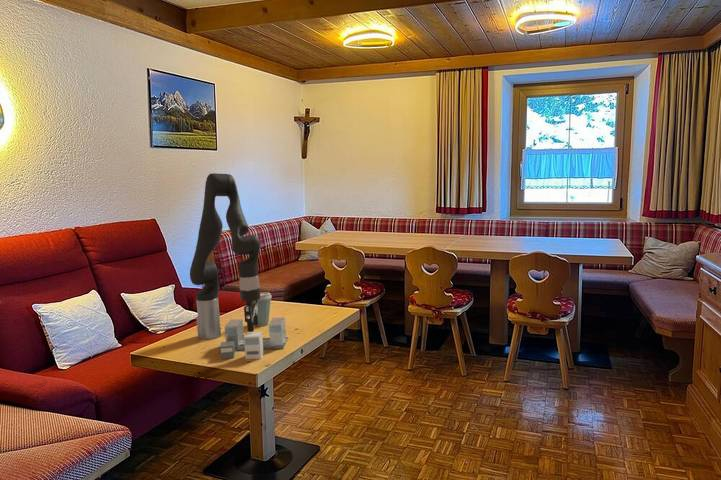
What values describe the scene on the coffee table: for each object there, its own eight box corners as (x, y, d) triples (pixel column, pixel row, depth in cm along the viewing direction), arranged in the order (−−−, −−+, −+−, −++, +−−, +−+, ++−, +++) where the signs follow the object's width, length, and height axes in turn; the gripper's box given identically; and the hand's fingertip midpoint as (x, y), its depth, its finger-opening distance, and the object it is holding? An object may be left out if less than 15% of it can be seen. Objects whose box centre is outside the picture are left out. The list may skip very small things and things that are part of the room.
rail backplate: (224, 351, 219) (222, 327, 217) (232, 341, 230) (230, 319, 229) (283, 348, 218) (281, 324, 217) (287, 339, 230) (286, 316, 229)
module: (245, 359, 208) (243, 337, 206) (248, 354, 213) (246, 332, 212) (260, 358, 208) (259, 336, 206) (263, 354, 213) (262, 332, 212)
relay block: (220, 359, 209) (219, 347, 208) (222, 354, 215) (221, 342, 215) (234, 358, 210) (232, 346, 209) (235, 353, 216) (234, 341, 215)
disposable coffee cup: (246, 324, 255) (243, 294, 253) (265, 319, 263) (263, 289, 261) (258, 328, 248) (256, 297, 246) (278, 323, 255) (275, 292, 253)
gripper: (244, 284, 214) (247, 323, 216) (235, 292, 200) (239, 334, 202) (262, 283, 214) (266, 322, 216) (255, 291, 200) (259, 333, 202)
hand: (253, 328), depth 209 cm, fingers open, 8 cm apart
